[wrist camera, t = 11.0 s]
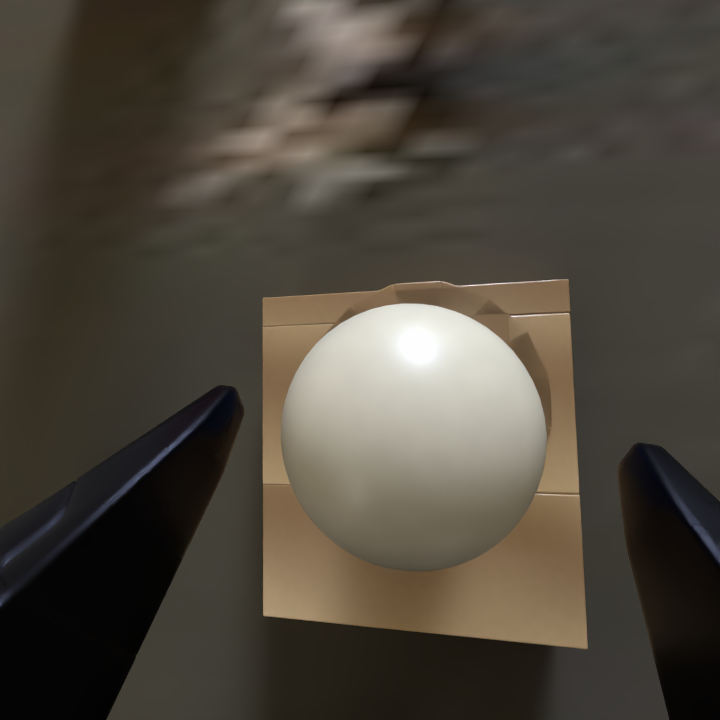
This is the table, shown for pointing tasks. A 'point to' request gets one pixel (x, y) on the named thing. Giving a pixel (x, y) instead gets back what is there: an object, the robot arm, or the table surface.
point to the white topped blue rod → (413, 437)
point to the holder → (473, 578)
